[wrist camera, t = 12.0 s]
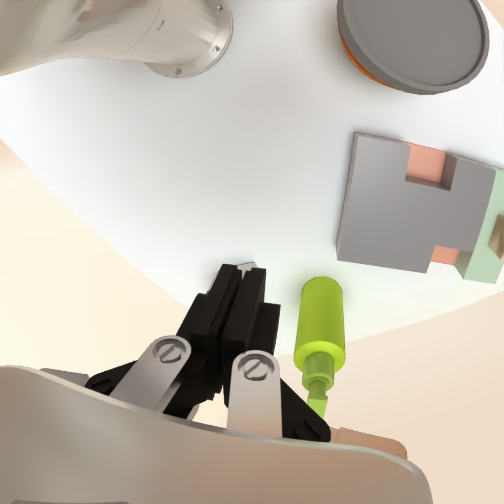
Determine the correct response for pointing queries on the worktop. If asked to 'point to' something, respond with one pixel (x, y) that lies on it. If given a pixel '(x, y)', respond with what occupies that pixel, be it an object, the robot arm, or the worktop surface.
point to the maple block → (498, 238)
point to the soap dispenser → (320, 339)
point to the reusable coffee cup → (415, 42)
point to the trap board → (419, 209)
